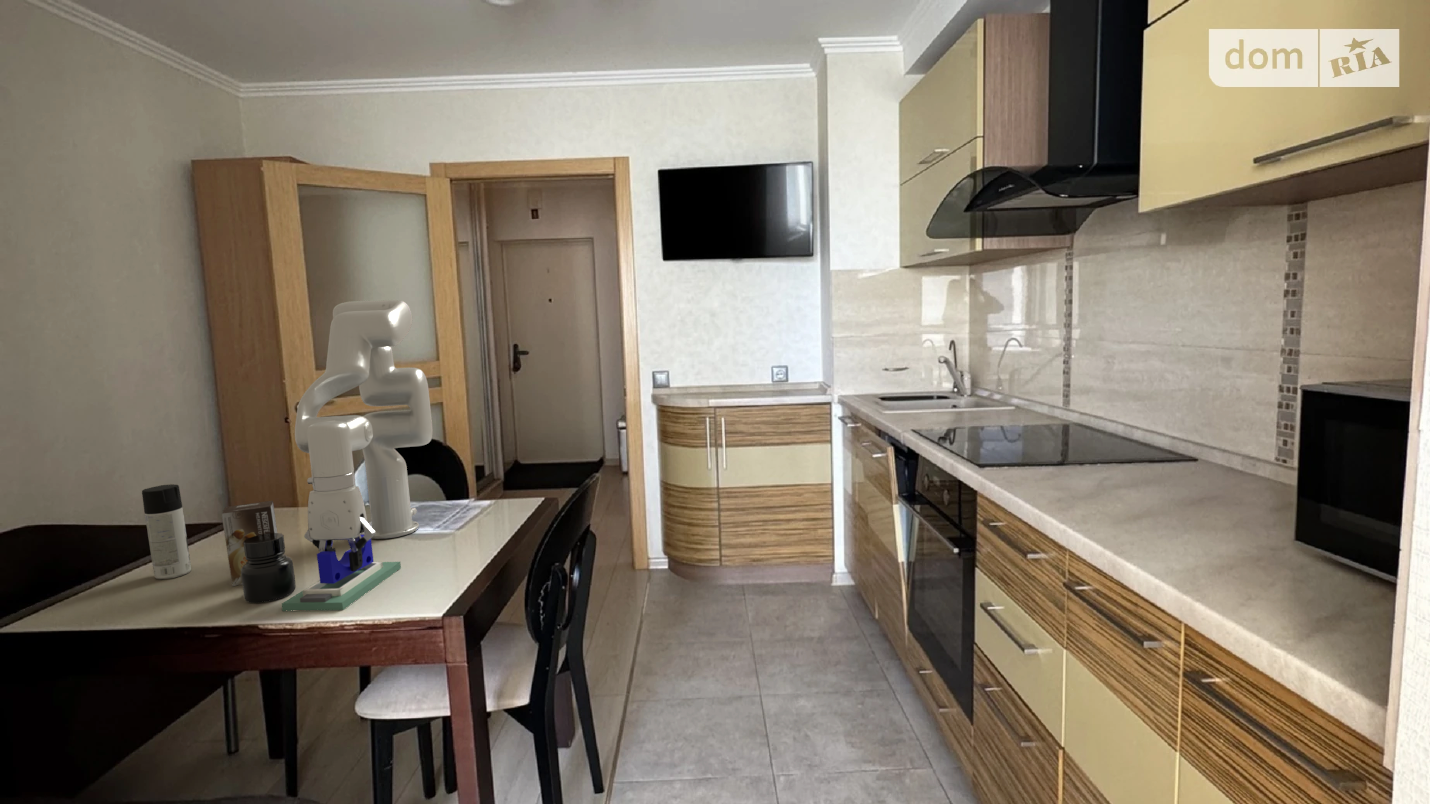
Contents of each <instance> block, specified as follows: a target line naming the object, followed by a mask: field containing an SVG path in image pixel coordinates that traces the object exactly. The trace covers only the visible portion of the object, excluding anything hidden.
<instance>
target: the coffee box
mask: <svg viewBox="0 0 1430 804" xmlns="http://www.w3.org/2000/svg"><path fill="white" fill-rule="evenodd" d="M221 519H222V526H223V532H224V539H225V546H226V552H227V561H228V567H229V571H230V578H231V579H230V580H231V586H232V587H235V586H236V587H237V586H241V585H242V577H241V569H242V567H243V566H244V565H245V564H246V562H247V561H248V560H246V556H245V552H244V544H243V542H244V540H246V539H248V538H251V537H254V536H257V535H262V534H269V533H278V529H277V521H276V513H275V506H274V501H273V500H269V501H261V502H260V501H259V502H254V503H253V502H252V503H246V504H245V503H244V504H239V505H230V506H225V507H224V508H223V510H222V513H221Z"/></svg>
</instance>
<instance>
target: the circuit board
mask: <svg viewBox="0 0 1430 804" xmlns="http://www.w3.org/2000/svg"><path fill="white" fill-rule="evenodd" d="M401 568H402V566H401V561H373V562H372V563H370V564H369V565H367V566H365V567H363V568H361V569H359V570H358V571H356V572H354V573H352V574H350V575H348V576H347V577H345V578H343V579H341V580H339V581H338V582H336V583H334V584H331V583H320V579H319V580H317V581H316V582H314V583H312V584H311V585H309V586H307V587H306V588H304V589H303V590H301V591H300V592H298V593H296V594H295V595H293V596H291V597H289V598H288V599H286V600H285V601H284V602H282V603H281V611H282V612H294V611H293V610H306V611H307V610H309V611H310V610H319V611H344V610H345V609H347V608H349V606H351V605H352V604H354V603H355V602H356V601H358V600H359V599H361V598H362V597H363V596H365V595H366V594H367V593H369V592H370V591H371V590H373V589H374V588H376V587H377V586H378V585H380V584H382V583H383V582H384V581H385V580H387V579H388V578H389V577H391V576H392V575H394V574H395V573H396V572H398V571H399V570H401ZM397 570H398V571H397ZM393 573H394V574H393ZM383 580H384V581H383ZM382 581H383V582H382ZM379 583H380V584H379ZM375 586H376V587H375ZM372 588H373V589H372ZM369 590H370V591H369ZM368 591H369V592H368ZM365 593H366V594H365ZM364 594H365V595H364ZM361 596H362V597H361ZM355 600H356V601H355ZM354 601H355V602H354ZM353 602H354V603H353ZM351 603H352V604H351ZM350 604H351V605H350ZM346 607H347V608H346ZM286 610H287V611H286ZM291 610H292V611H291ZM306 611H305V612H306ZM307 612H308V611H307ZM310 612H311V611H310Z"/></svg>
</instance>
